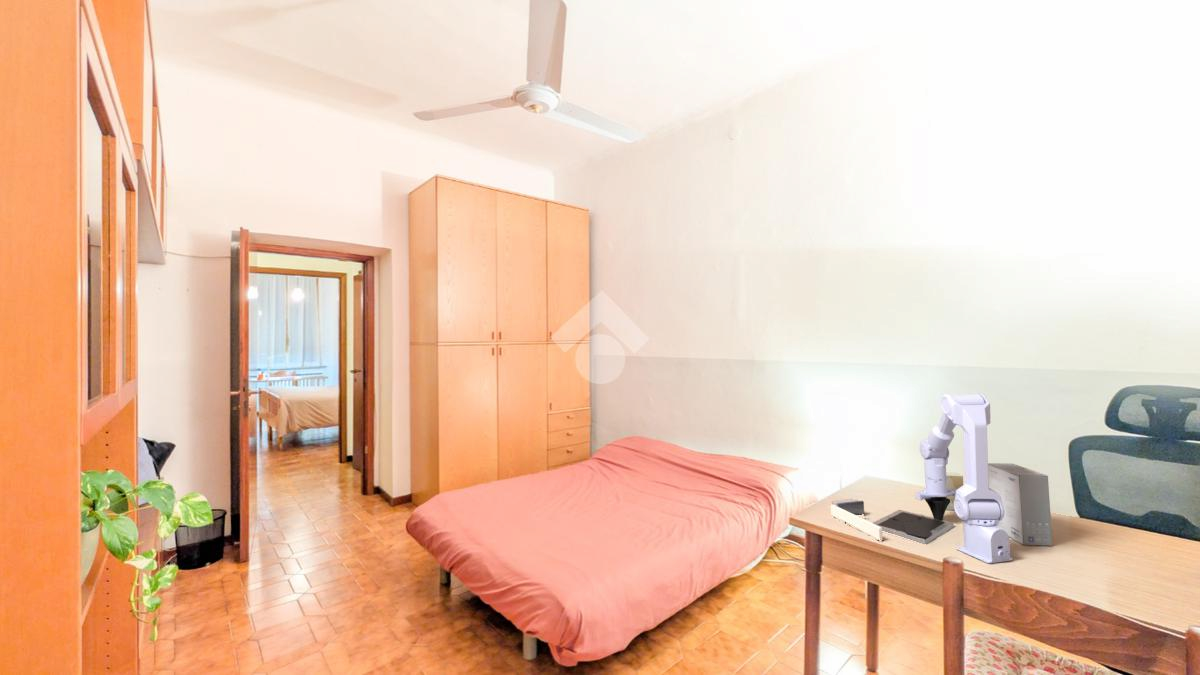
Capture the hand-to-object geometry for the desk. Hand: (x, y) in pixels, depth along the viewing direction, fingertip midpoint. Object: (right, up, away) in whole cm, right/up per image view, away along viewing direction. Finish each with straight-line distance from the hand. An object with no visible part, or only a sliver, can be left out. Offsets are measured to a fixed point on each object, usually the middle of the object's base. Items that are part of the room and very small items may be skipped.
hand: (938, 520), depth 152 cm
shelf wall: (-27, -2, -1) cm, 28 cm away
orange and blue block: (-24, -2, +11) cm, 27 cm away
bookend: (-24, -2, +7) cm, 25 cm away
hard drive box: (+16, 0, -11) cm, 20 cm away
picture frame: (-10, -2, -3) cm, 11 cm away
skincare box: (+14, -1, +13) cm, 19 cm away
